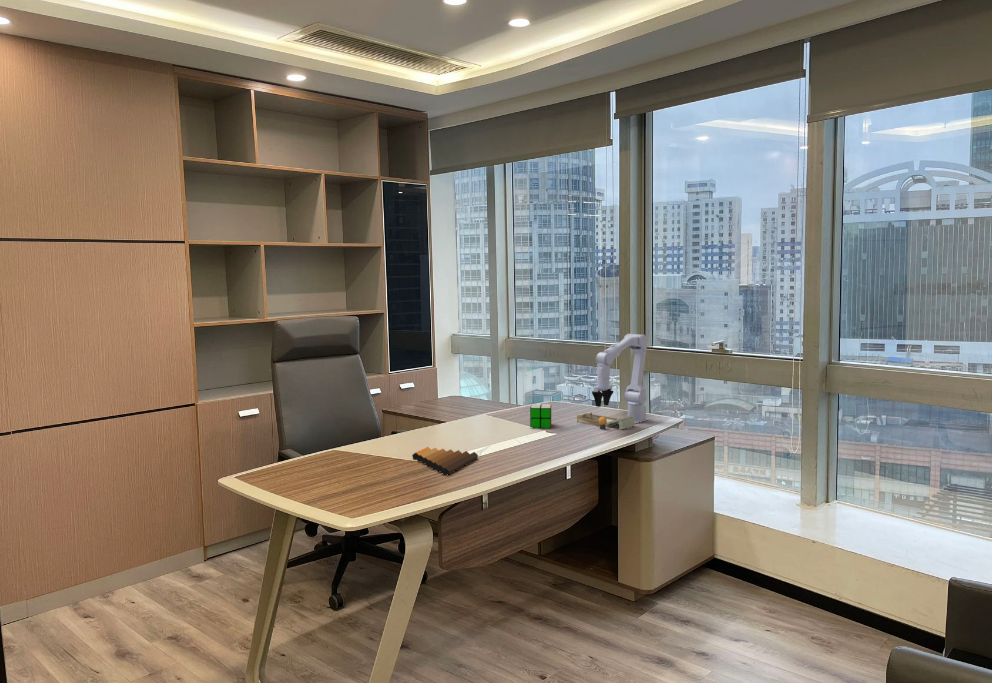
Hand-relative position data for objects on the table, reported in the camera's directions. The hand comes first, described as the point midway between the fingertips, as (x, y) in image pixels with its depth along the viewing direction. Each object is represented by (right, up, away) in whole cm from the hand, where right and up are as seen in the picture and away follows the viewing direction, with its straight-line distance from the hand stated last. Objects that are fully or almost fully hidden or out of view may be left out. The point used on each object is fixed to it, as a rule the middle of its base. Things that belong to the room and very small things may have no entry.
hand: (602, 405), depth 336 cm
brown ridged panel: (-74, -18, -58) cm, 96 cm away
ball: (0, -7, +1) cm, 7 cm away
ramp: (+7, -10, +8) cm, 15 cm away
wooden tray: (0, -10, +15) cm, 18 cm away
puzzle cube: (-29, -11, +9) cm, 32 cm away
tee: (0, -11, +2) cm, 11 cm away
